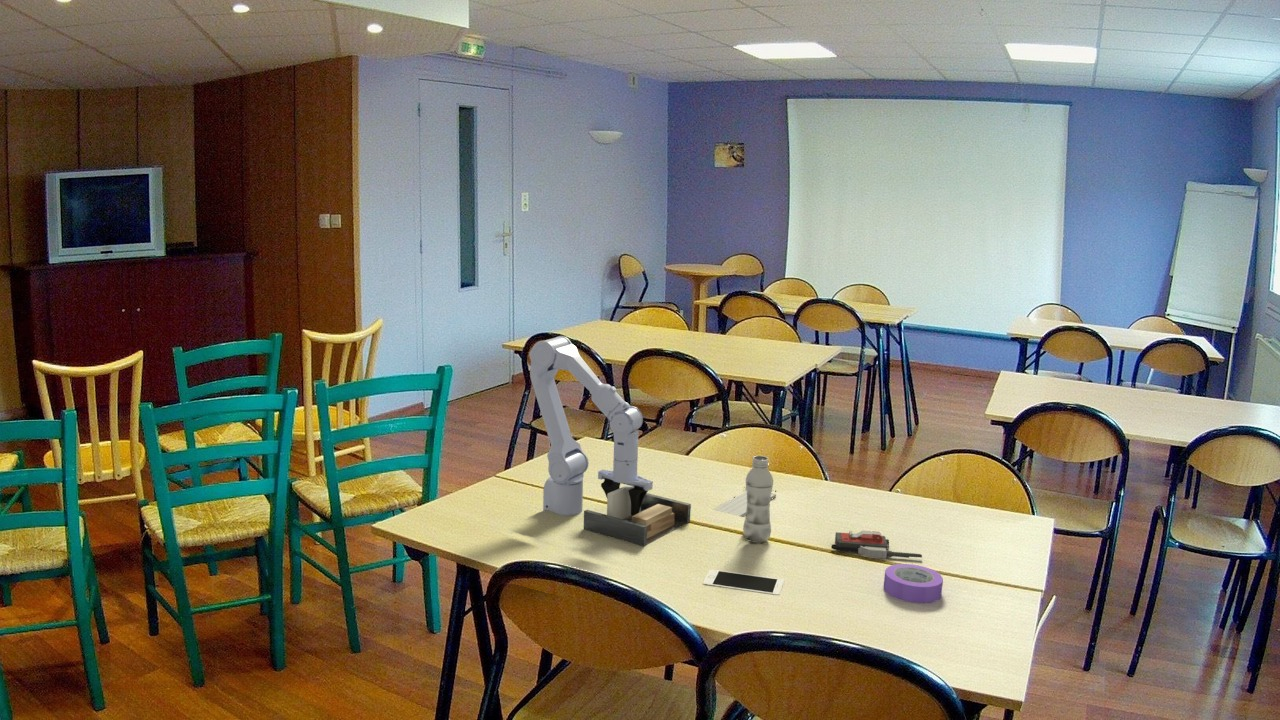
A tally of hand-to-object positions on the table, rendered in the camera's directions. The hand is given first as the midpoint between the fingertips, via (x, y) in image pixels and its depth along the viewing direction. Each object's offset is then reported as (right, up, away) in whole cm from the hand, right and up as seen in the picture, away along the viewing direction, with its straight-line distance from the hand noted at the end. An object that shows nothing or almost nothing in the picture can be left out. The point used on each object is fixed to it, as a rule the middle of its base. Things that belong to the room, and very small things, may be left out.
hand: (624, 512), depth 236 cm
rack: (+3, -4, -2) cm, 5 cm away
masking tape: (+60, -12, -31) cm, 69 cm away
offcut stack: (+7, -3, -4) cm, 9 cm away
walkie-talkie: (+58, -8, -10) cm, 59 cm away
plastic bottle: (+31, -6, -6) cm, 32 cm away
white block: (0, -2, 0) cm, 2 cm away
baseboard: (+27, -2, +16) cm, 32 cm away
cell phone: (+26, -11, -29) cm, 40 cm away
